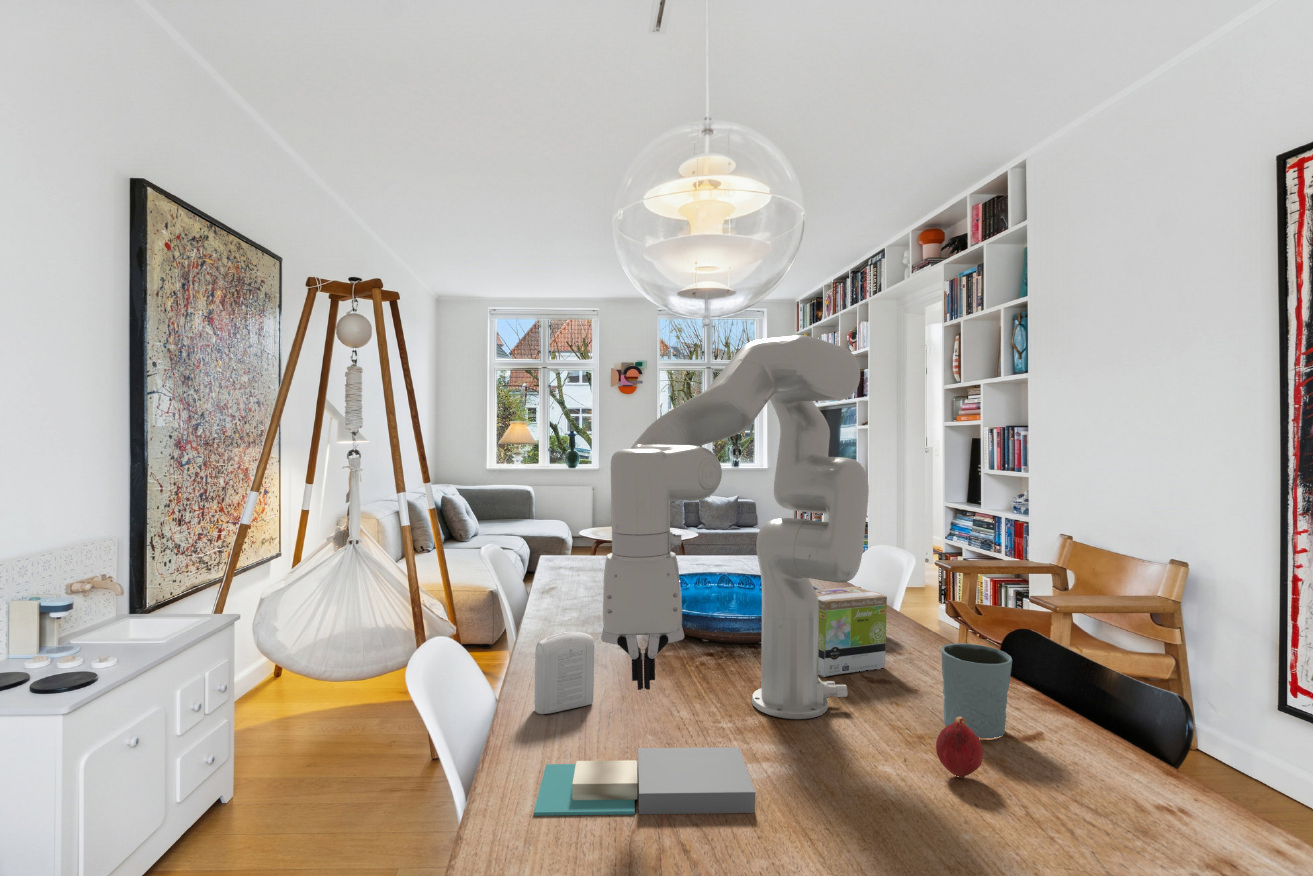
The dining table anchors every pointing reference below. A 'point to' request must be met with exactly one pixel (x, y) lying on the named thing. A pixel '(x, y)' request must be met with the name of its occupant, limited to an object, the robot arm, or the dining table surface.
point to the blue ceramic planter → (976, 687)
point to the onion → (959, 748)
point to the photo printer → (564, 672)
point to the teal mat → (559, 796)
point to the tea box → (851, 630)
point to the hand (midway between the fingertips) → (643, 685)
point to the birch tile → (605, 780)
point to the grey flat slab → (694, 781)
